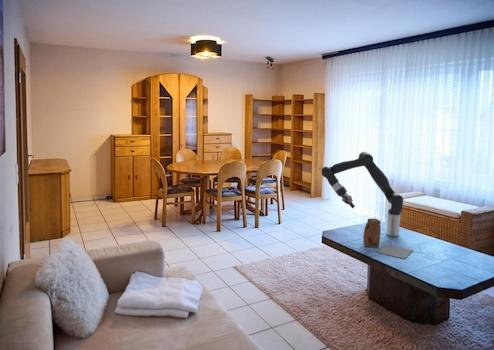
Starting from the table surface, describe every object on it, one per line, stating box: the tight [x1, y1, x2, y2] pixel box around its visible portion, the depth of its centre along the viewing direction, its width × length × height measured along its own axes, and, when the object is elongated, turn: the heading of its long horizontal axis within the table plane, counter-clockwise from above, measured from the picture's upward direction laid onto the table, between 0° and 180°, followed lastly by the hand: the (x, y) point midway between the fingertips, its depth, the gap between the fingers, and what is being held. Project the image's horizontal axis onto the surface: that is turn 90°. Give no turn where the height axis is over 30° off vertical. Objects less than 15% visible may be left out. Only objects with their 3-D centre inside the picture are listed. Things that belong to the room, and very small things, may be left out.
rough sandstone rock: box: [363, 218, 382, 248], centre depth 294 cm, size 11×8×20 cm
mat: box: [374, 243, 414, 260], centre depth 285 cm, size 20×20×1 cm
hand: (353, 207), depth 301 cm, fingers closed
